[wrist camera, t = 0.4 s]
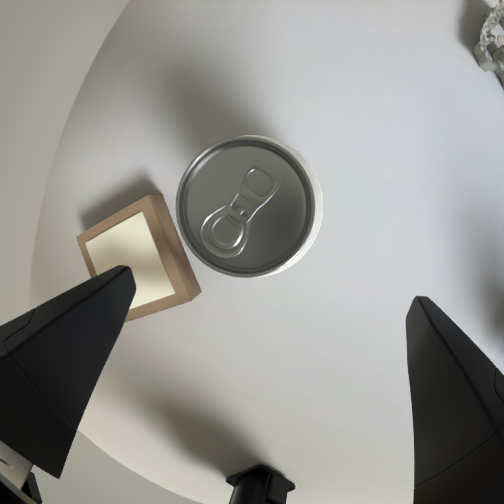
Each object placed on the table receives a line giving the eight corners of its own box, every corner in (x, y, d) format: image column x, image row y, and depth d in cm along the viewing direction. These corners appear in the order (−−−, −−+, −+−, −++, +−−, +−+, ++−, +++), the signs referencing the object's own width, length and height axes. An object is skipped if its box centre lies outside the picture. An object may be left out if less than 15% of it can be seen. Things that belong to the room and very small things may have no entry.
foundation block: (201, 291, 25) (190, 301, 23) (126, 317, 27) (111, 326, 25) (162, 194, 25) (147, 194, 22) (92, 233, 27) (75, 237, 24)
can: (218, 213, 24) (140, 226, 12) (264, 147, 22) (223, 97, 11) (283, 261, 24) (260, 319, 12) (332, 195, 22) (360, 190, 11)
